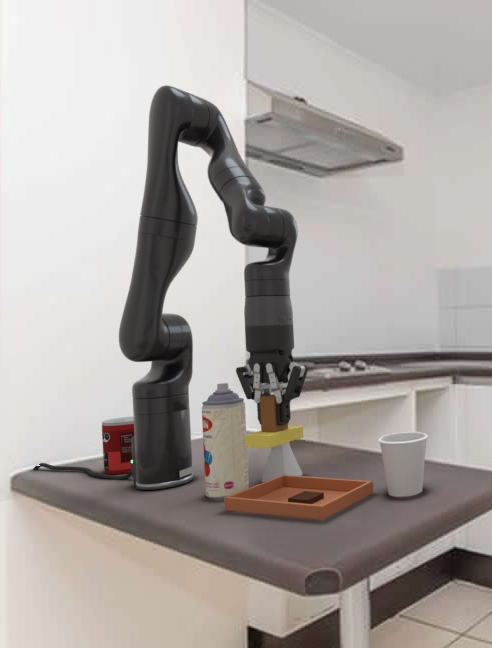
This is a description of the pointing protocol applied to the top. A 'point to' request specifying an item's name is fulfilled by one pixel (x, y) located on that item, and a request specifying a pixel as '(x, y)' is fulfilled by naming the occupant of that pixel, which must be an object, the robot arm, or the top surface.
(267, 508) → the orange tray
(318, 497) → the block
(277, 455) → the flask
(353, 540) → the top surface
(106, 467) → the canned food
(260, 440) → the brush
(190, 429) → the robot arm
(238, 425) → the aerosol can
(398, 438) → the dixie cup
